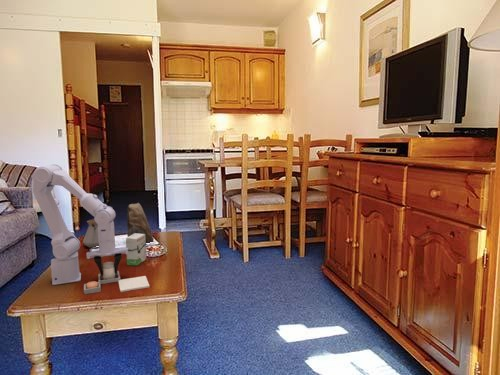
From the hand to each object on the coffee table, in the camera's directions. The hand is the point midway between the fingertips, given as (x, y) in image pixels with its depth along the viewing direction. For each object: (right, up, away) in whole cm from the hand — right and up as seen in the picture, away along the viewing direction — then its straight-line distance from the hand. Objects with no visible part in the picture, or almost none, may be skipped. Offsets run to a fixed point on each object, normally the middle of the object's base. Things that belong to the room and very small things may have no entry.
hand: (108, 273), depth 138 cm
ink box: (+5, 0, +19) cm, 19 cm away
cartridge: (0, -2, 0) cm, 2 cm away
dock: (-1, -3, -4) cm, 5 cm away
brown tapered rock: (-1, +4, +45) cm, 45 cm away
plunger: (-2, -4, -9) cm, 10 cm away
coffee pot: (-21, +3, +37) cm, 43 cm away
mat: (+11, -3, -5) cm, 12 cm away
